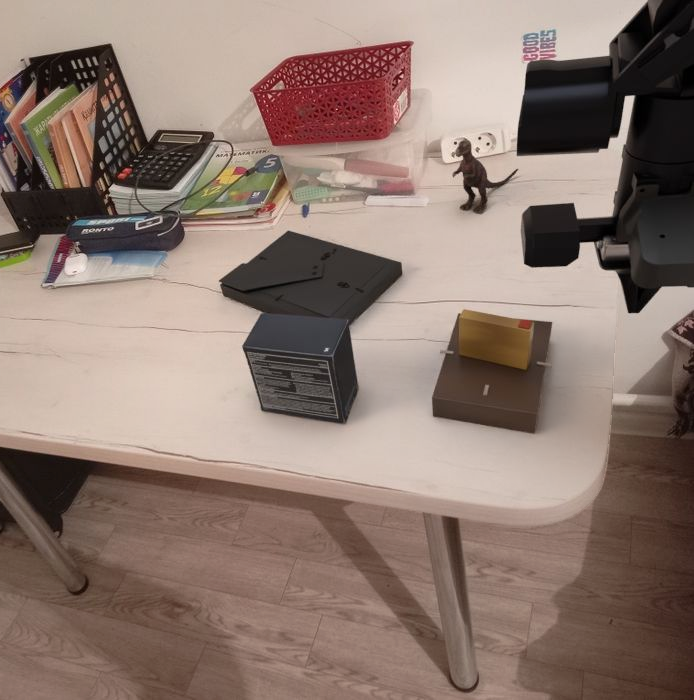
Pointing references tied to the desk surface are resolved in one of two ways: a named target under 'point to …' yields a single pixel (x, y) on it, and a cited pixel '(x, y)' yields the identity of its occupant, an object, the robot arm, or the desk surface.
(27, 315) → the desk surface
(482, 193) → the dinosaur model
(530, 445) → the desk surface
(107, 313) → the desk surface
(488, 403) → the plate
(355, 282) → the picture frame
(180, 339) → the desk surface
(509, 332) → the yellow rectangular slab
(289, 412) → the small box
